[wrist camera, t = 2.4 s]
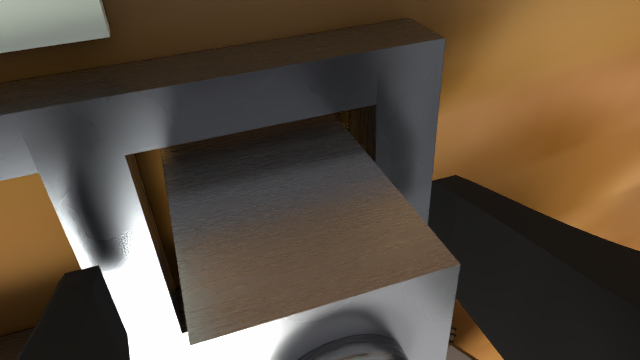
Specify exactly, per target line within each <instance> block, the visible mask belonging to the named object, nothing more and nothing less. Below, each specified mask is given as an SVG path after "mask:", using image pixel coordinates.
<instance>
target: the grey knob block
mask: <svg viewBox="0 0 640 360" xmlns="http://www.w3.org/2000/svg"><path fill="white" fill-rule="evenodd" d="M160 149H161V156H162V163H163V170H164V176H165V183H166V190H167V196H168V203H169V210H170V216H171V223H172V230H173V236H174V243H175V250H176V257H177V263H178V270H179V277H180V283H181V290H182V297H183V303H184V310H185V317H186V323H187V330H188V337H189V344H190V348H191V351H192V354H193V358H194V360H446V355H447V349H448V342H449V336H450V329H451V323H452V316H453V310H454V303H455V296H456V290H457V283H458V277H459V270H460V263H459V262H458V261H457V259H456V258H455V257H454V256H453V255H452V254H451V252H450V251H449V250H448V249H447V248H446V246H445V245H444V244H443V243H442V242H441V241H440V239H439V238H438V237H437V236H436V235H435V233H434V232H433V231H432V230H431V229H430V227H429V226H428V225H427V224H426V223H425V222H424V220H423V219H422V218H421V217H420V216H419V214H418V213H417V212H416V211H415V210H414V208H413V207H412V206H411V205H410V204H409V203H408V201H407V200H406V199H405V198H404V197H403V195H402V194H401V193H400V192H399V191H398V190H397V188H396V187H395V186H394V185H393V184H392V182H391V181H390V180H389V179H388V178H387V176H386V175H385V174H384V173H383V172H382V171H381V169H380V168H379V167H378V166H377V165H376V163H375V162H374V161H373V160H372V159H371V158H370V156H369V155H368V154H367V153H366V152H365V150H364V149H363V148H362V147H361V146H360V144H359V143H358V142H357V141H356V140H355V139H354V137H353V136H352V135H351V134H350V133H349V131H348V130H347V129H346V128H345V127H344V125H343V124H342V123H341V122H340V121H339V120H338V118H337V117H336V116H335V115H334V114H333V113H331V114H326V115H321V116H316V117H311V118H307V119H302V120H297V121H292V122H287V123H282V124H277V125H272V126H267V127H262V128H257V129H252V130H247V131H242V132H238V133H233V134H228V135H223V136H218V137H213V138H208V139H203V140H198V141H193V142H188V143H183V144H178V145H173V146H168V147H164V148H160Z"/></svg>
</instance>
